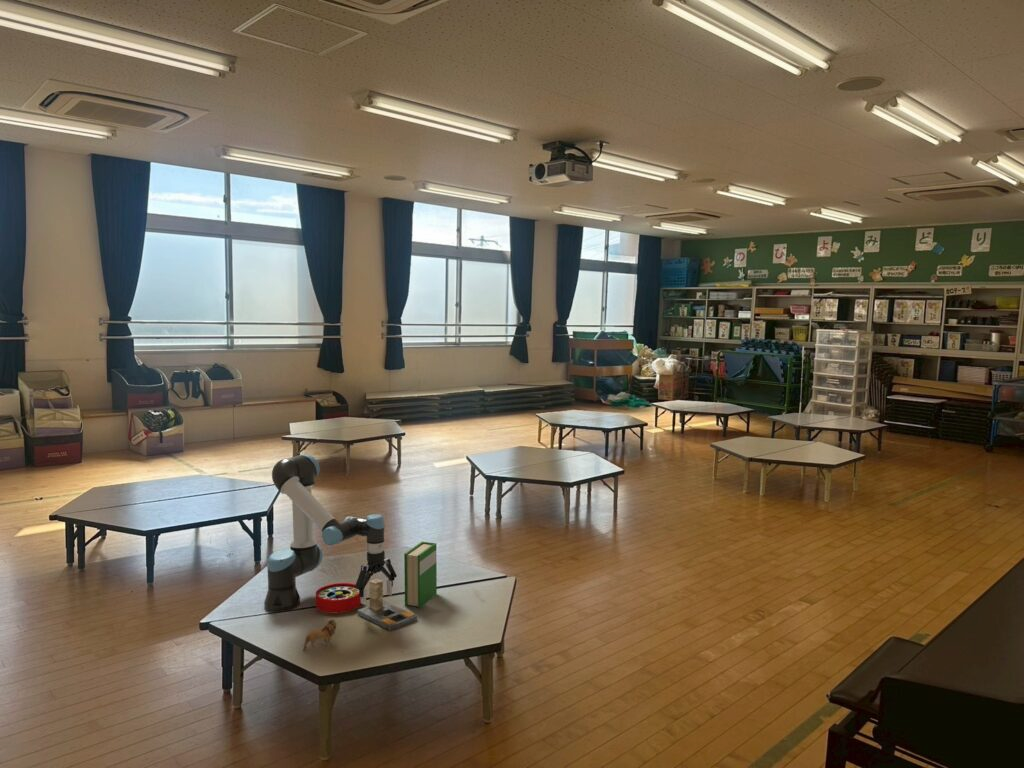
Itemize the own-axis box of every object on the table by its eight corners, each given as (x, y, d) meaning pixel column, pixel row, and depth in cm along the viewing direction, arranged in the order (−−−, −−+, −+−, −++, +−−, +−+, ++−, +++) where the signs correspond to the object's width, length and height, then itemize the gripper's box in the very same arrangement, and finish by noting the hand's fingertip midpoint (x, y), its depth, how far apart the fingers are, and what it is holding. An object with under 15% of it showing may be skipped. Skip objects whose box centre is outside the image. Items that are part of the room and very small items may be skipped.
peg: (375, 615, 296) (375, 583, 295) (369, 612, 299) (369, 581, 297) (383, 612, 299) (382, 581, 298) (377, 609, 301) (377, 578, 300)
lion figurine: (332, 637, 275) (331, 616, 274) (339, 642, 271) (339, 620, 270) (299, 650, 264) (298, 628, 263) (306, 655, 260) (306, 632, 259)
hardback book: (419, 608, 303) (419, 555, 301) (404, 606, 305) (404, 553, 303) (436, 593, 320) (436, 543, 317) (422, 591, 322) (421, 541, 320)
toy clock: (371, 587, 312) (340, 603, 294) (371, 600, 312) (341, 617, 294) (337, 580, 321) (305, 594, 303) (337, 592, 321) (306, 607, 304)
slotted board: (390, 631, 281) (390, 625, 280) (357, 614, 296) (357, 609, 296) (417, 620, 291) (417, 615, 291) (384, 604, 306) (383, 599, 306)
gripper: (356, 560, 285) (357, 610, 286) (404, 546, 303) (404, 593, 305) (345, 556, 290) (346, 605, 291) (393, 542, 308) (394, 588, 310)
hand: (376, 599), depth 298 cm, fingers open, 13 cm apart
